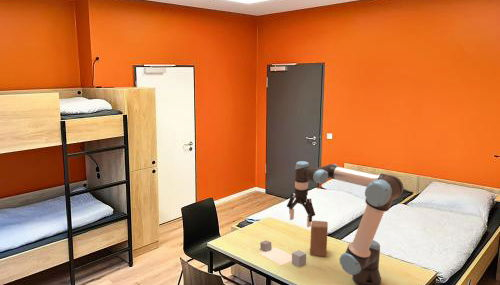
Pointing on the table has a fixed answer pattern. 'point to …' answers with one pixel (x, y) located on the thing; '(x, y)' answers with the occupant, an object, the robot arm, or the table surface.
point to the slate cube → (299, 258)
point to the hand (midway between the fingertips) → (300, 222)
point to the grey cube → (265, 246)
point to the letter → (277, 256)
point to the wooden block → (318, 238)
